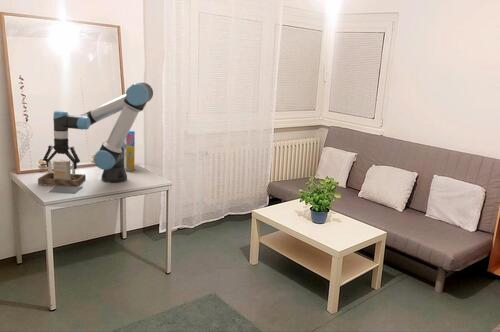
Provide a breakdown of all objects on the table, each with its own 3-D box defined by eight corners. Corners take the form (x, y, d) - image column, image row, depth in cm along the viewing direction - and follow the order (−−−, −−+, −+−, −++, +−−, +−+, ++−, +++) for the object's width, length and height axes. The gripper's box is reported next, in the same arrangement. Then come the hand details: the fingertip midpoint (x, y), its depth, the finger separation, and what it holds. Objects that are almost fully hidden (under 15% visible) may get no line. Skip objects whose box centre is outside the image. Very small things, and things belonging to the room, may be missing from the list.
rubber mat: (82, 187, 243) (82, 186, 243) (74, 193, 232) (74, 192, 232) (57, 186, 242) (57, 185, 242) (48, 192, 231) (48, 191, 231)
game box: (134, 171, 286) (134, 131, 280) (126, 171, 283) (126, 131, 277) (126, 164, 303) (126, 126, 297) (118, 164, 300) (118, 126, 294)
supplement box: (71, 181, 252) (70, 160, 249) (67, 184, 247) (66, 162, 244) (58, 180, 253) (57, 159, 250) (53, 182, 248) (52, 160, 245)
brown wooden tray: (85, 180, 258) (85, 174, 257) (77, 186, 244) (77, 180, 243) (48, 178, 256) (48, 172, 255) (38, 184, 243) (37, 178, 242)
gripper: (85, 138, 248) (85, 173, 253) (41, 135, 247) (42, 170, 252) (81, 140, 241) (81, 176, 246) (35, 137, 240) (37, 173, 244)
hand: (61, 173), depth 249 cm, fingers open, 13 cm apart
